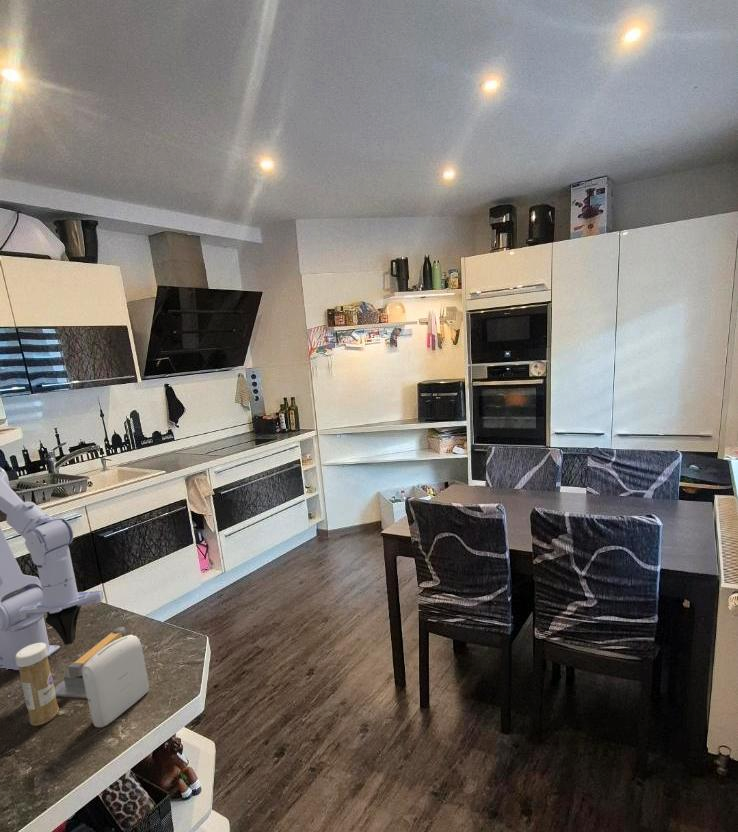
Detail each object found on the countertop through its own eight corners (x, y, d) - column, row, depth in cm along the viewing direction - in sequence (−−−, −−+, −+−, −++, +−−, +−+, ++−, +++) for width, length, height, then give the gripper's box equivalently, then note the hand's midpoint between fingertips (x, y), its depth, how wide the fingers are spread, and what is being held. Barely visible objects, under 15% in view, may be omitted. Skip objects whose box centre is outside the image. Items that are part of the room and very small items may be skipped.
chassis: (48, 695, 89) (45, 681, 89) (108, 645, 104) (106, 633, 104) (89, 698, 87) (86, 684, 87) (144, 647, 102) (142, 635, 102)
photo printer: (103, 731, 79) (90, 665, 77) (87, 724, 81) (74, 660, 79) (153, 690, 88) (143, 630, 86) (139, 685, 90) (128, 626, 88)
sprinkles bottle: (59, 718, 83) (45, 649, 81) (28, 731, 80) (13, 661, 79) (59, 703, 87) (46, 638, 85) (30, 715, 84) (16, 648, 83)
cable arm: (119, 634, 103) (118, 626, 103) (128, 635, 102) (127, 626, 102) (69, 676, 90) (67, 666, 90) (79, 676, 89) (78, 667, 89)
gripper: (6, 597, 88) (21, 662, 89) (90, 580, 91) (102, 643, 93) (24, 581, 94) (36, 642, 96) (101, 566, 98) (112, 625, 100)
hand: (70, 641), depth 95 cm, fingers closed
